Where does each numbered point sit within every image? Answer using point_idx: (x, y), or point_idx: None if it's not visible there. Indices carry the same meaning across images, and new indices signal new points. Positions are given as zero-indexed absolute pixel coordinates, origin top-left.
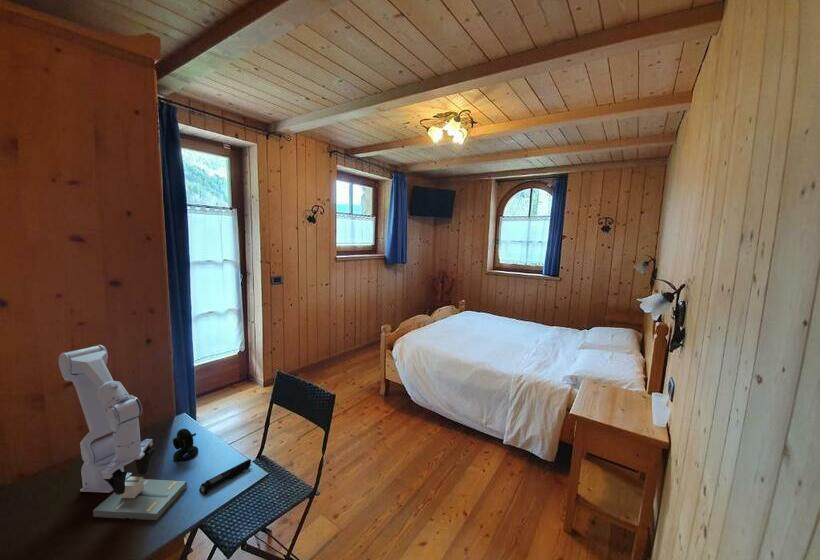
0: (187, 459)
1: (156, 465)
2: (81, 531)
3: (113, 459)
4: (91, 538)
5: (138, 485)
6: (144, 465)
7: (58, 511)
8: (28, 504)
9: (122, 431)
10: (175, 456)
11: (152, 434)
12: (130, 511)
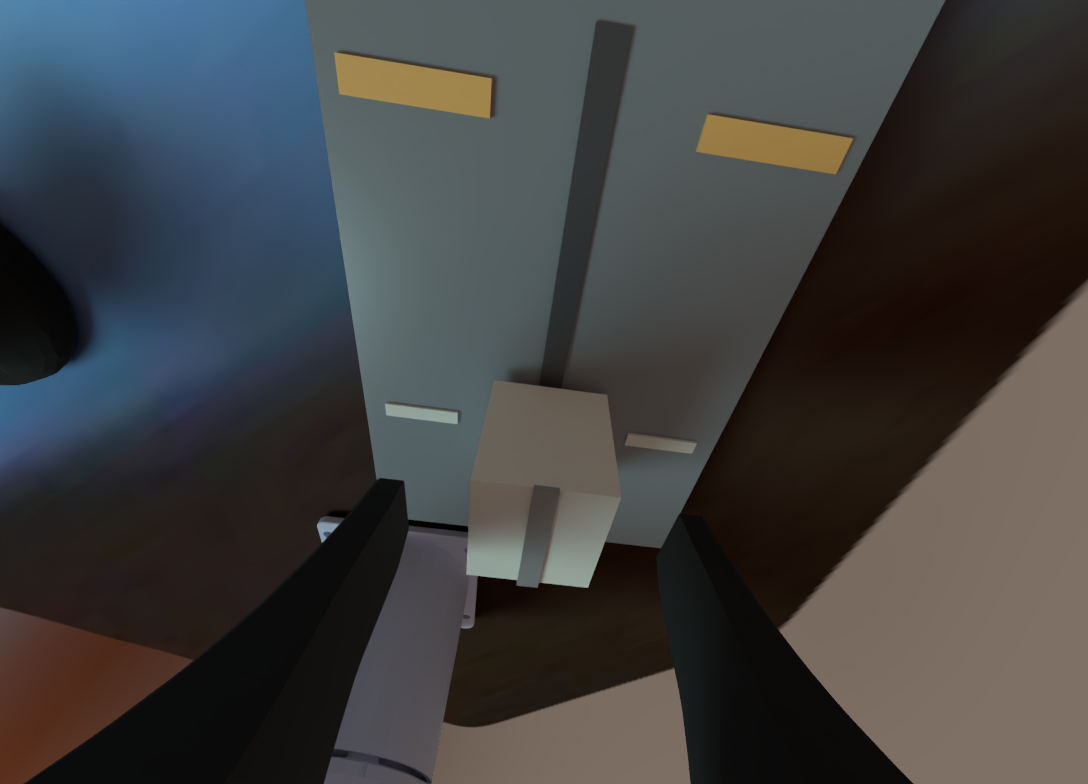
0: None
1: (196, 435)
2: (754, 505)
3: (353, 773)
4: (845, 438)
5: (544, 447)
6: (350, 592)
7: (584, 621)
8: (536, 685)
9: None
10: (30, 355)
11: (10, 578)
12: (763, 336)
